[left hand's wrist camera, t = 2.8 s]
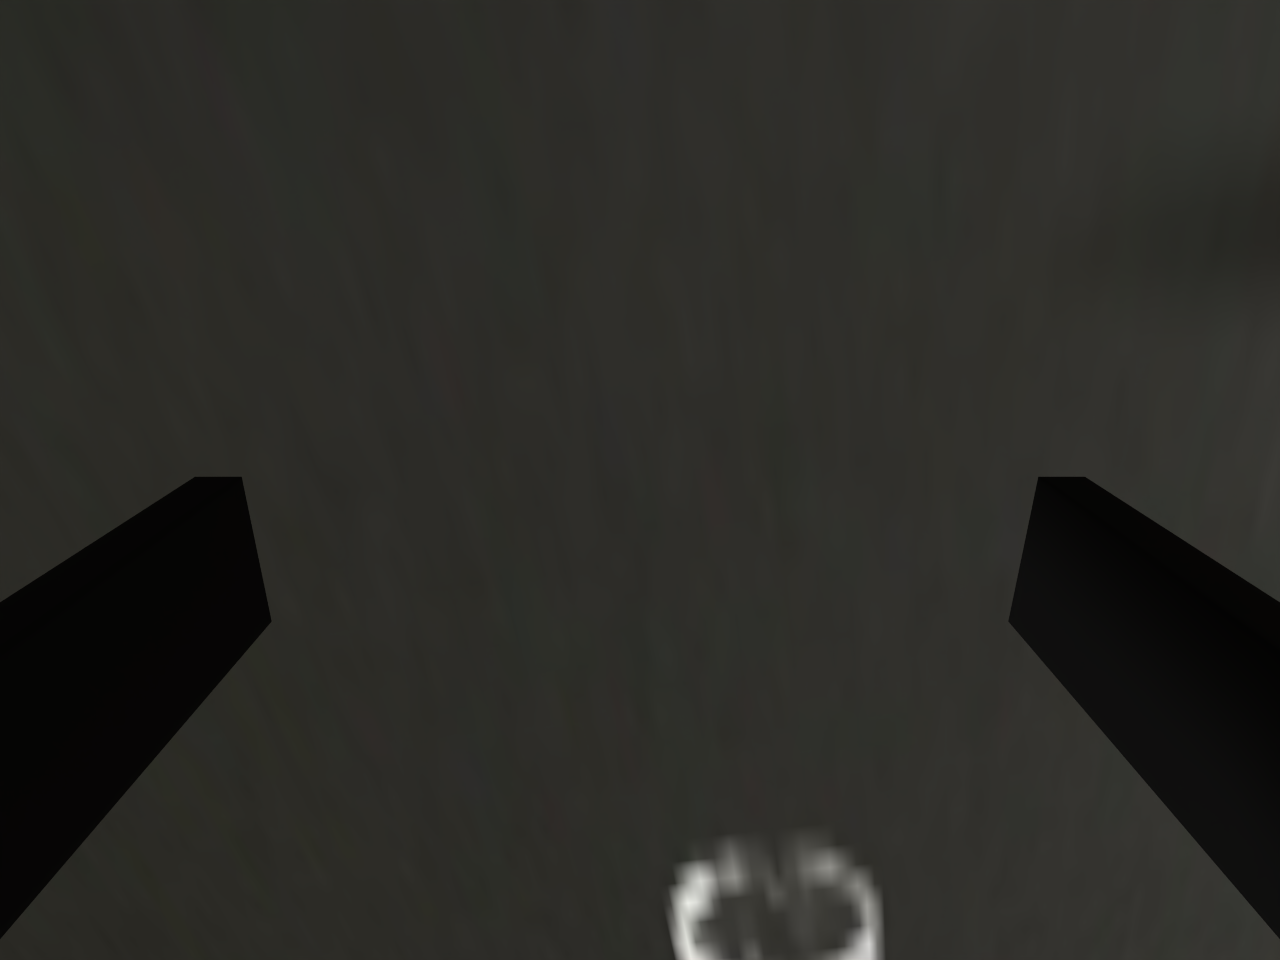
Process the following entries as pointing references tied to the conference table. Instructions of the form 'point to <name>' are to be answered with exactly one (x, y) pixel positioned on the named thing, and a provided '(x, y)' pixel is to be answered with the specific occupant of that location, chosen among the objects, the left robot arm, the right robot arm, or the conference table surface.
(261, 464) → the conference table surface
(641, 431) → the conference table surface
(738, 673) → the conference table surface
